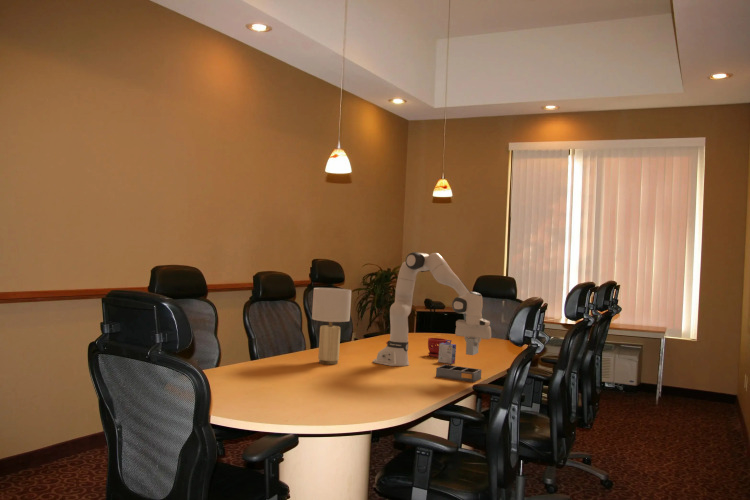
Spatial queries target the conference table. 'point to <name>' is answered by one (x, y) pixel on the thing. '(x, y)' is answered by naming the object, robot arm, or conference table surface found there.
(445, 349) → the ink cartridge box
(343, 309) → the lamp
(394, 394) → the conference table surface
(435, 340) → the plant pot
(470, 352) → the grey rectangular block
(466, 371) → the slot rack
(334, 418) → the conference table surface
